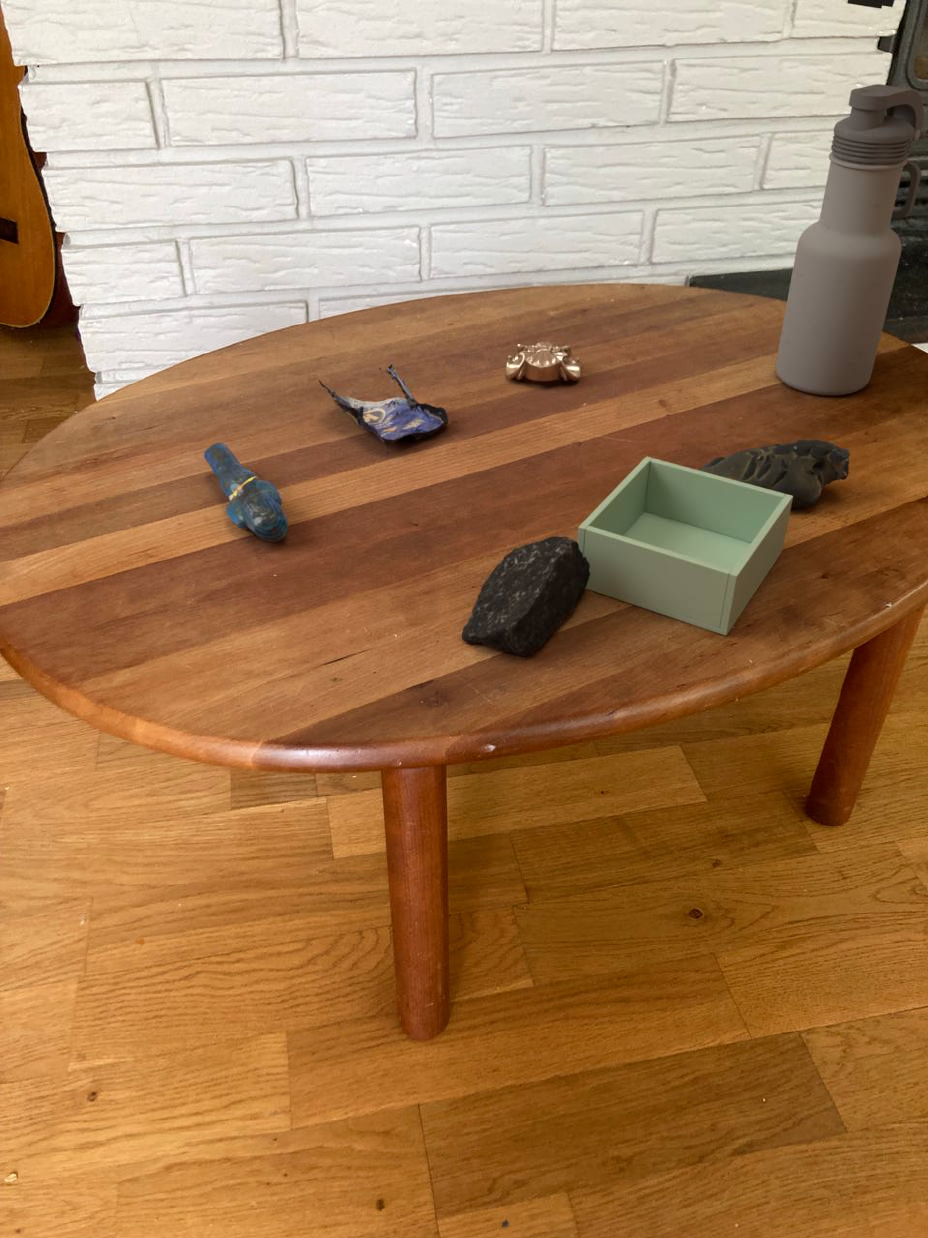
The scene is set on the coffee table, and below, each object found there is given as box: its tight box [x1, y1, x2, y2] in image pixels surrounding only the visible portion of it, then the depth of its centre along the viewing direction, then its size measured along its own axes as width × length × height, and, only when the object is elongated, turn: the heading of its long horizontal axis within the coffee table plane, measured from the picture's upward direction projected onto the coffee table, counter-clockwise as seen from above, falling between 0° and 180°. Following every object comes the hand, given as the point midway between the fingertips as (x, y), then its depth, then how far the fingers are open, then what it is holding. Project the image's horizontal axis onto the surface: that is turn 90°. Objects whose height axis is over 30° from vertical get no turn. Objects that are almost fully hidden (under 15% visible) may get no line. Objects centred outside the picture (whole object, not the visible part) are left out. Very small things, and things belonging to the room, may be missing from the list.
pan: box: [577, 456, 793, 637], centre depth 82 cm, size 13×13×6 cm
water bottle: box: [775, 83, 925, 397], centre depth 102 cm, size 10×10×28 cm
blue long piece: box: [203, 442, 289, 543], centre depth 91 cm, size 5×4×15 cm
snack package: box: [318, 363, 449, 454], centre depth 102 cm, size 12×6×12 cm
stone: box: [698, 439, 851, 509], centre depth 91 cm, size 7×13×5 cm, turn 85°
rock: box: [461, 535, 590, 657], centre depth 78 cm, size 7×10×6 cm
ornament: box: [505, 340, 581, 382], centre depth 111 cm, size 8×7×4 cm
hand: (870, 5), depth 90 cm, fingers open, 13 cm apart
